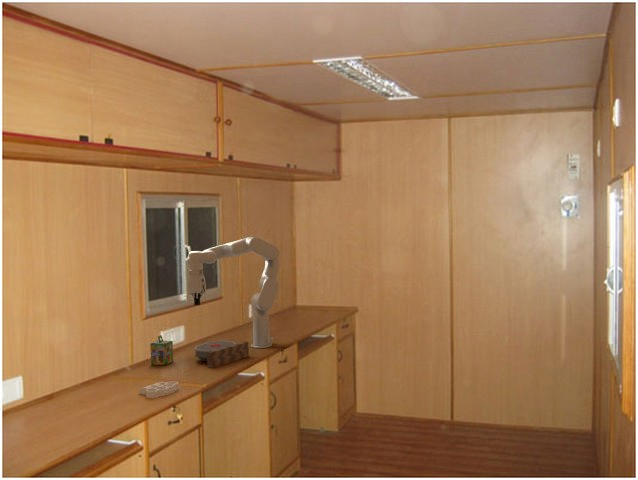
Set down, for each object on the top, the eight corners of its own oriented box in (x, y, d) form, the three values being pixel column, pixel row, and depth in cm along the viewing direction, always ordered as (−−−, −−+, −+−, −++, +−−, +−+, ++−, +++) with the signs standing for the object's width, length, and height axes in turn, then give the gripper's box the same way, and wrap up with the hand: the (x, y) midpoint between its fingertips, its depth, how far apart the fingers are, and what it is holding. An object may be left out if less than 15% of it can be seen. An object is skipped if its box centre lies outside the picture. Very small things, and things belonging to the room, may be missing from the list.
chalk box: (166, 365, 361) (166, 337, 360) (150, 365, 363) (149, 337, 362) (174, 361, 370) (173, 334, 369) (158, 361, 372) (157, 334, 371)
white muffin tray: (161, 386, 321) (186, 390, 313) (133, 396, 305) (158, 400, 298) (161, 379, 320) (185, 382, 313) (133, 388, 305) (158, 392, 298)
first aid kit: (215, 365, 360) (241, 355, 382) (215, 351, 359) (241, 342, 382) (188, 362, 367) (215, 353, 390) (188, 348, 367) (215, 340, 389)
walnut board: (244, 355, 380) (244, 341, 380) (248, 356, 379) (248, 342, 378) (207, 367, 355) (207, 351, 355) (211, 367, 354) (211, 352, 353)
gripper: (210, 272, 389) (211, 305, 390) (191, 271, 397) (192, 303, 398) (201, 274, 383) (202, 306, 384) (181, 273, 391) (182, 305, 392)
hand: (197, 304), depth 391 cm, fingers closed
